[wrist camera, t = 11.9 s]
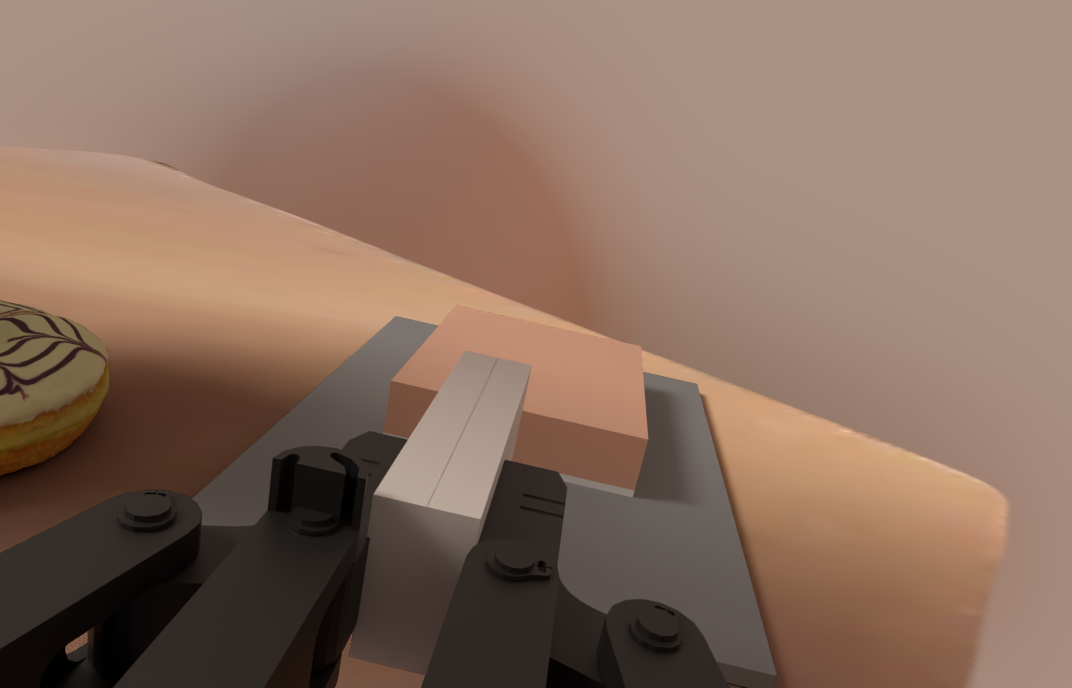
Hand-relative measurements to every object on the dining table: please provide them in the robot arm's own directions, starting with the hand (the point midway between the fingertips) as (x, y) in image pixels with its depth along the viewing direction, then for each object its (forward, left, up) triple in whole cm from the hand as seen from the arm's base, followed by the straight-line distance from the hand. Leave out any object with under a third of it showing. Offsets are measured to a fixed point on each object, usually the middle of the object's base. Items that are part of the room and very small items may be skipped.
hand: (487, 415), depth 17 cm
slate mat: (+5, +14, -8) cm, 17 cm away
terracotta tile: (+4, +11, -6) cm, 13 cm away
